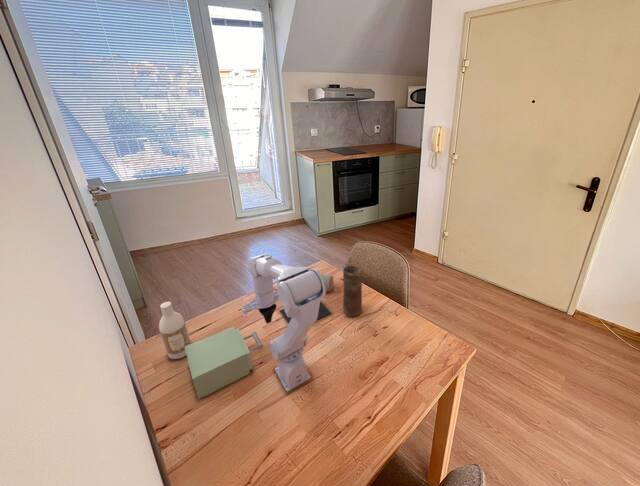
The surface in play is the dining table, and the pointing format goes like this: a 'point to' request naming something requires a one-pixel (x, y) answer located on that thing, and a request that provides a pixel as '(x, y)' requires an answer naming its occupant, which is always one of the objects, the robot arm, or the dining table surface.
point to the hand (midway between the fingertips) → (268, 321)
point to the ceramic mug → (327, 282)
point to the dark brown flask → (352, 290)
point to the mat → (321, 313)
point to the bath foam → (173, 331)
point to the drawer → (247, 347)
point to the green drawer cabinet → (216, 361)
